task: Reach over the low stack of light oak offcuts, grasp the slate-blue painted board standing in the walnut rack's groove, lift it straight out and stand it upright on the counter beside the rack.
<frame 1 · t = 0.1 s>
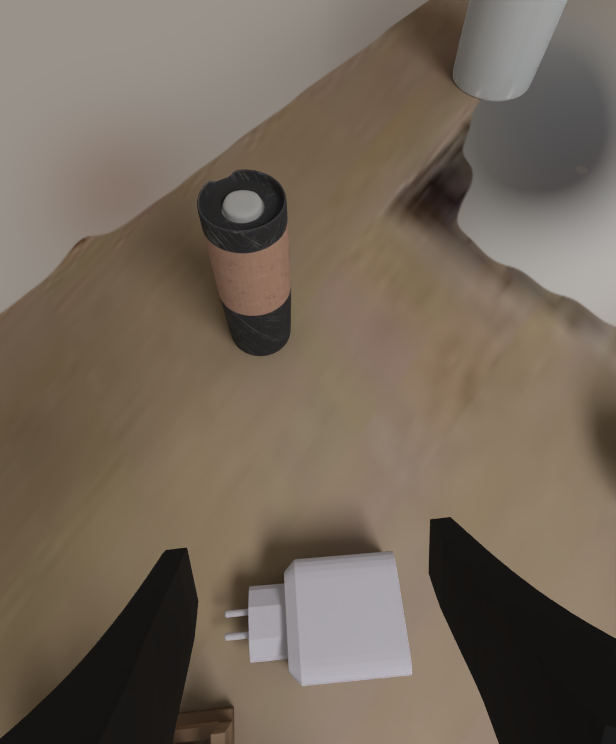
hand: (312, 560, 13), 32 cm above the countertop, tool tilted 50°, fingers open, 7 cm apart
utensil holder: (488, 80, 81), on the countertop
charger: (312, 617, 41), on the countertop
travel mug: (261, 332, 55), on the countertop
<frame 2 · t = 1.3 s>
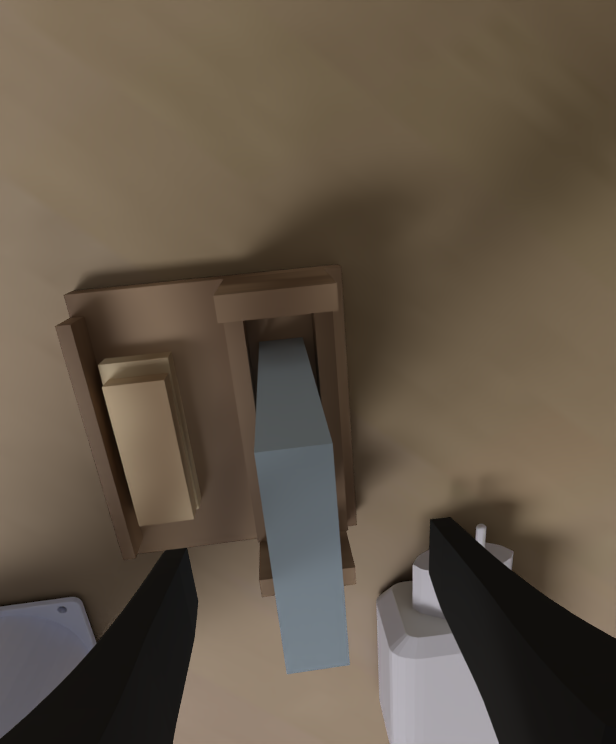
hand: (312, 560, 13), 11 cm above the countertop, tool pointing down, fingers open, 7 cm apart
board: (289, 417, 22), point 1 cm above the countertop, touching rack
rack: (230, 415, 23), on the countertop
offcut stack: (156, 433, 22), point 1 cm above the countertop, touching rack
charger: (443, 594, 29), on the countertop
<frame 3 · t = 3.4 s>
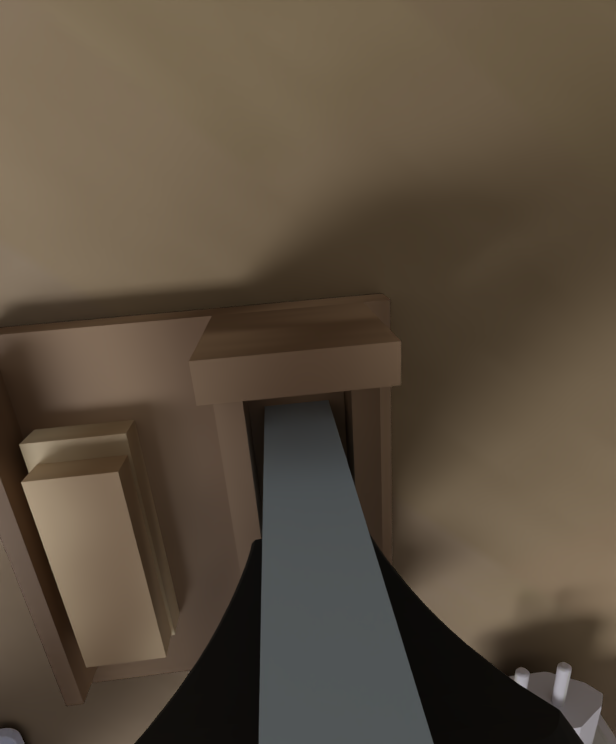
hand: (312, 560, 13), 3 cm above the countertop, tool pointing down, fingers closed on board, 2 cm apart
board: (306, 508, 15), point 1 cm above the countertop, touching gripper, rack
rack: (221, 500, 16), on the countertop
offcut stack: (114, 530, 15), point 1 cm above the countertop, touching rack
charger: (495, 721, 23), on the countertop
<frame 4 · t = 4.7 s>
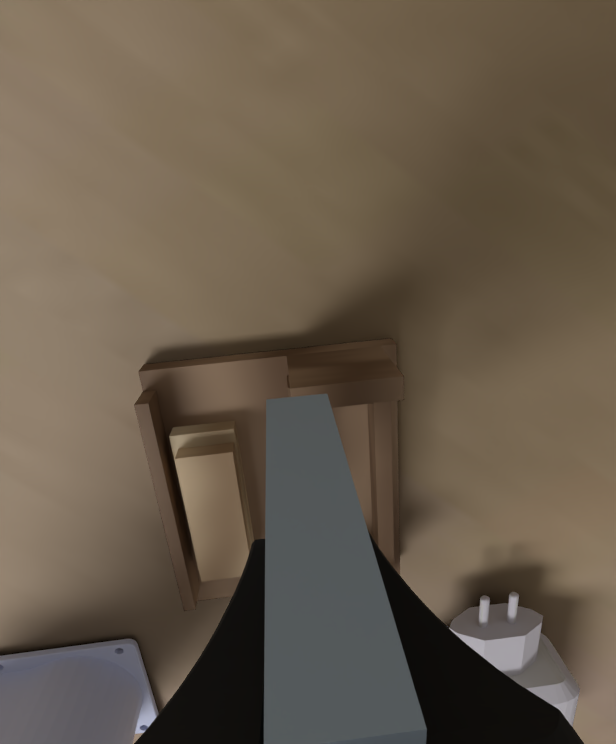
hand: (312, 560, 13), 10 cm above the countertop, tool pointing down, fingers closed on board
board: (305, 497, 16), point 7 cm above the countertop, touching gripper
rack: (284, 474, 24), on the countertop
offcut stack: (217, 493, 23), point 1 cm above the countertop, touching rack
charger: (472, 647, 31), on the countertop
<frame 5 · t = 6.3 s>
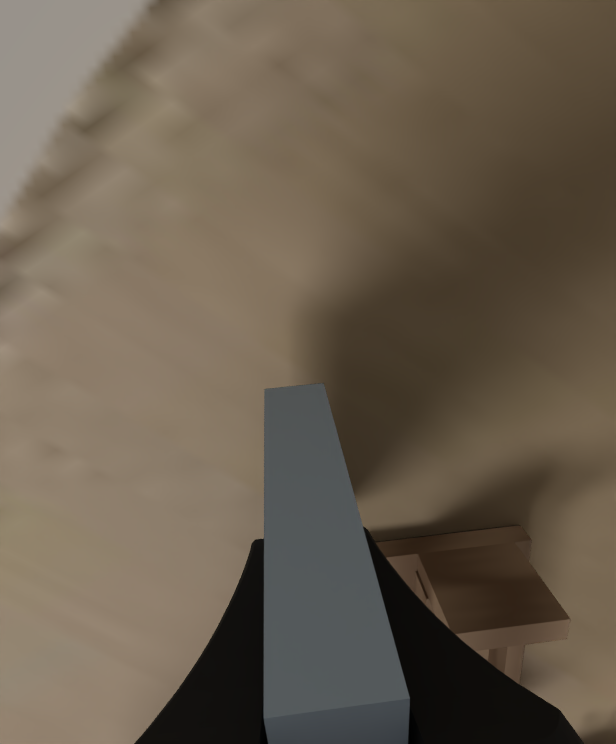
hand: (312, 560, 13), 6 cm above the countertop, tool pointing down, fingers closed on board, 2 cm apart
board: (302, 481, 17), point 2 cm above the countertop, touching gripper
rack: (394, 648, 23), on the countertop
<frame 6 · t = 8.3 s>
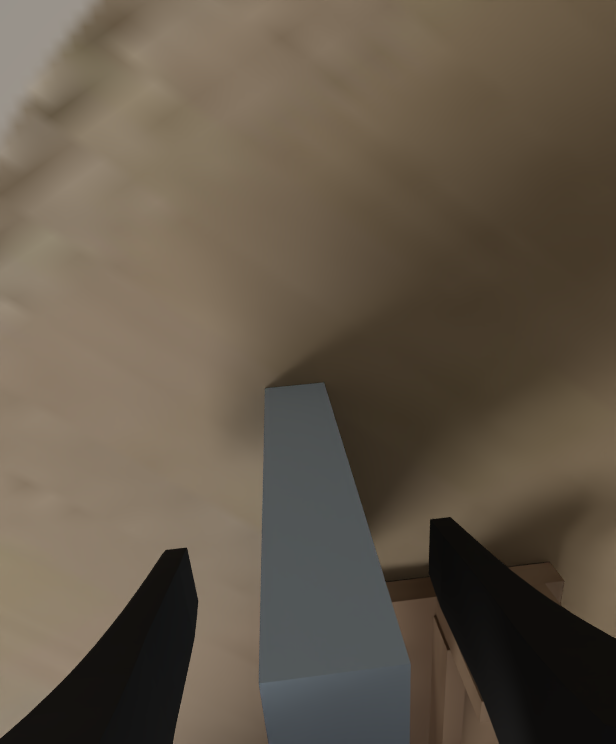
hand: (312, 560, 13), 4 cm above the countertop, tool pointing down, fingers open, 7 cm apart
board: (303, 485, 17), on the countertop
rack: (408, 694, 21), on the countertop
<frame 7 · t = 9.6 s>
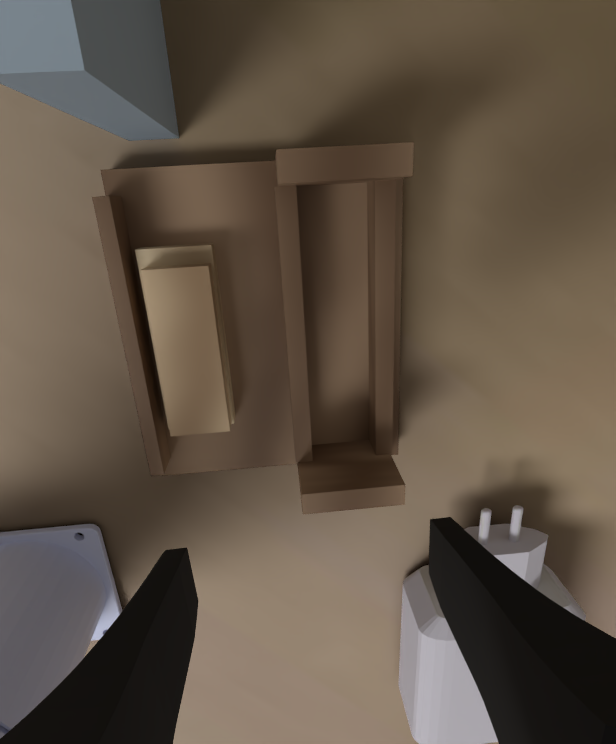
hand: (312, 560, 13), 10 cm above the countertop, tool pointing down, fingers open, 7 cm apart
board: (135, 19, 17), on the countertop
rack: (269, 326, 21), on the countertop
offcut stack: (191, 337, 20), point 1 cm above the countertop, touching rack
charger: (469, 579, 29), on the countertop
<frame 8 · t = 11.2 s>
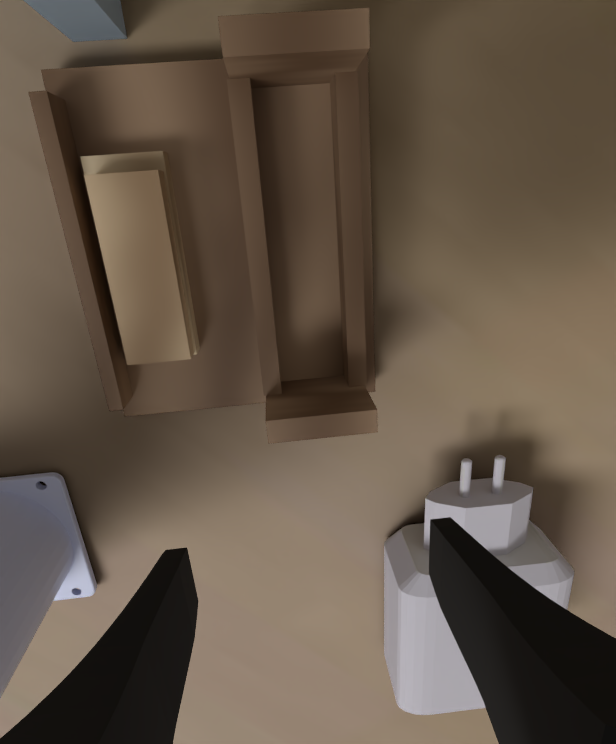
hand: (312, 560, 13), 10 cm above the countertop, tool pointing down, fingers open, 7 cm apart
rack: (234, 251, 20), on the countertop
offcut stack: (148, 261, 19), point 1 cm above the countertop, touching rack
charger: (454, 541, 27), on the countertop
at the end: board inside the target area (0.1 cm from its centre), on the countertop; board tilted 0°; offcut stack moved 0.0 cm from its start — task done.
